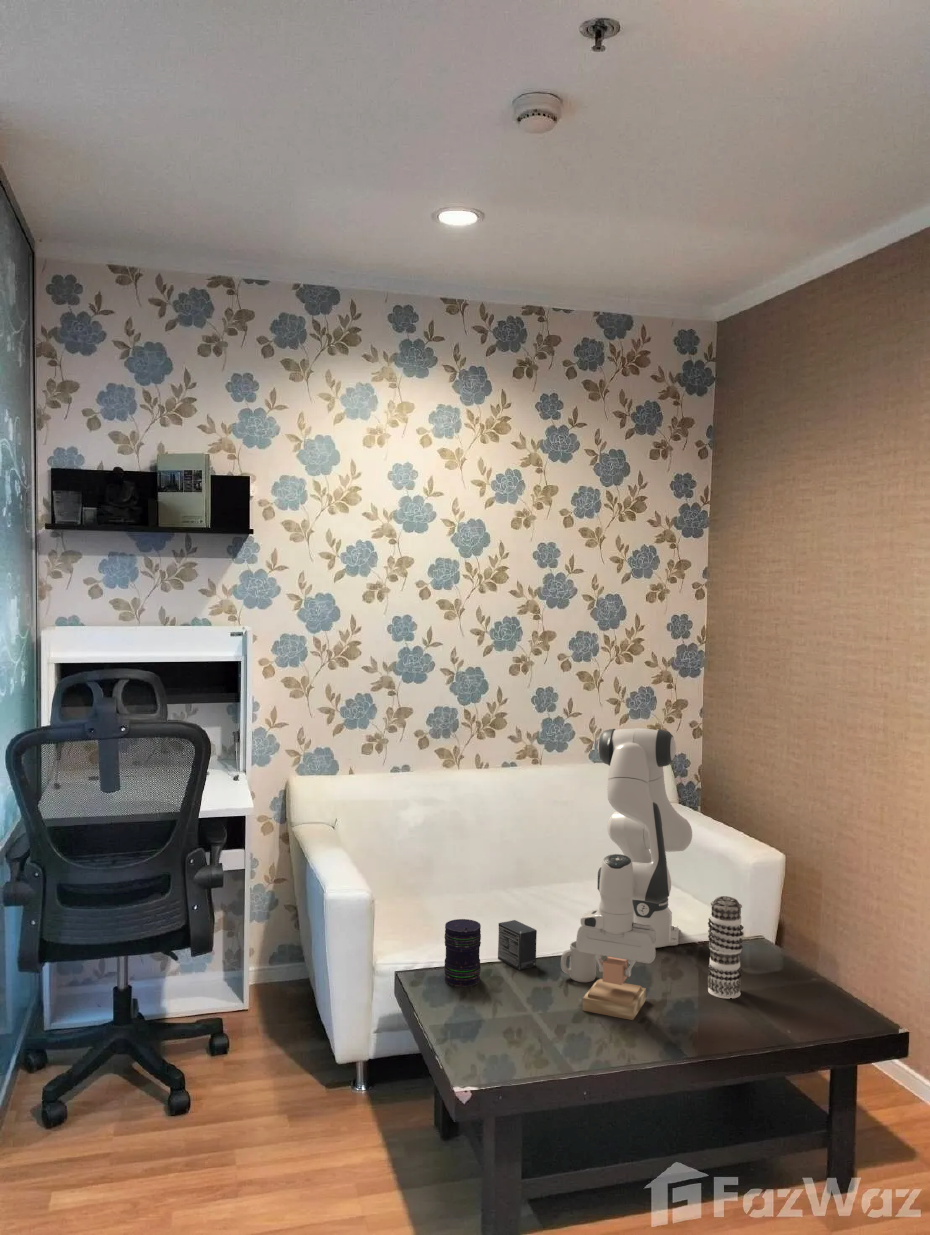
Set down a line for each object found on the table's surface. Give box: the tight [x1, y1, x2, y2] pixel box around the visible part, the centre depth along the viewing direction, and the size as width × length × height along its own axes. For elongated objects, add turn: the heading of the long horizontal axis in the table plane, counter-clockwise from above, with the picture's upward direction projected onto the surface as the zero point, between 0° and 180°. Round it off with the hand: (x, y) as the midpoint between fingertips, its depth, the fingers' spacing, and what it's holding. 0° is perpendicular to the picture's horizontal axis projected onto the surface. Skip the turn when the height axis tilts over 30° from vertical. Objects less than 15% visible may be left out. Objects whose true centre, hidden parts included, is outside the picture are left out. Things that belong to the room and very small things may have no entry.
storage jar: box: [443, 918, 482, 988], centre depth 273 cm, size 10×10×15 cm
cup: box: [560, 941, 597, 983], centre depth 275 cm, size 7×10×9 cm
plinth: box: [582, 978, 647, 1021], centre depth 258 cm, size 13×13×4 cm
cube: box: [602, 956, 628, 985], centre depth 257 cm, size 5×5×5 cm
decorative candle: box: [707, 895, 744, 1000], centre depth 267 cm, size 9×9×25 cm
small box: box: [497, 919, 538, 971], centre depth 286 cm, size 11×6×10 cm, turn 34°
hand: (614, 973), depth 258 cm, fingers closed on cube, 5 cm apart
